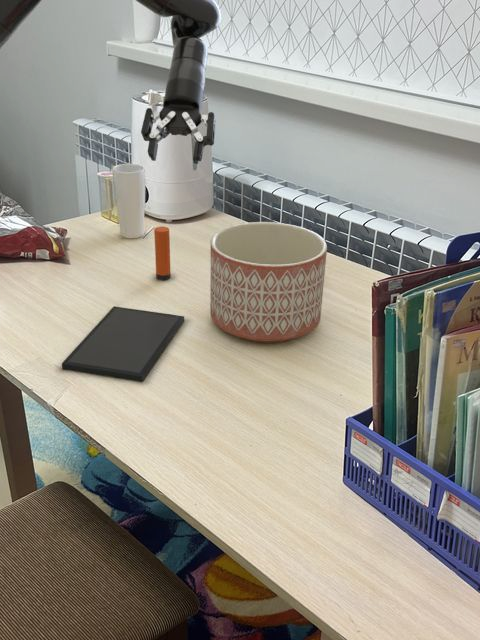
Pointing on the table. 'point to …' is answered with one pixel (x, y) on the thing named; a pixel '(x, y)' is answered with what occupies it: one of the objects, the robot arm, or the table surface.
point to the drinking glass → (130, 198)
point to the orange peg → (162, 253)
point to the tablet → (124, 344)
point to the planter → (267, 280)
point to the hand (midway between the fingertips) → (174, 160)
